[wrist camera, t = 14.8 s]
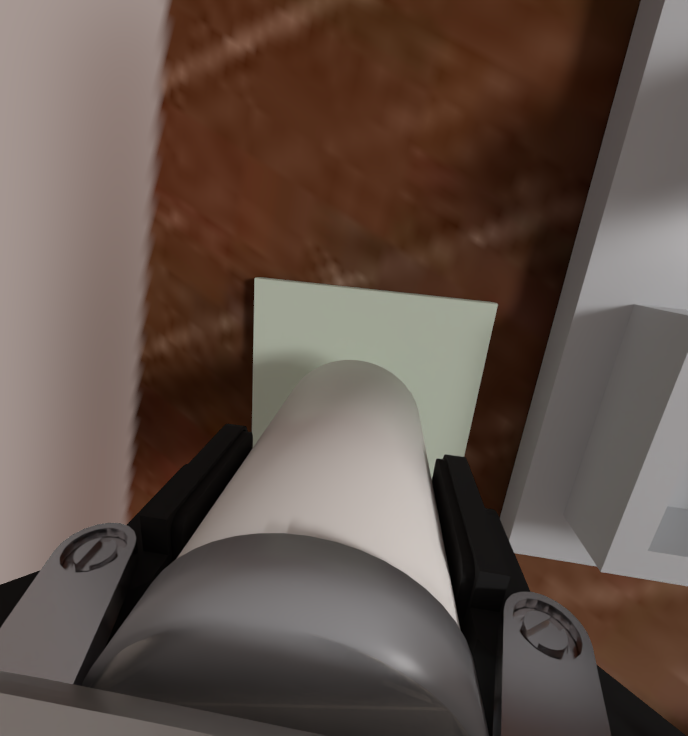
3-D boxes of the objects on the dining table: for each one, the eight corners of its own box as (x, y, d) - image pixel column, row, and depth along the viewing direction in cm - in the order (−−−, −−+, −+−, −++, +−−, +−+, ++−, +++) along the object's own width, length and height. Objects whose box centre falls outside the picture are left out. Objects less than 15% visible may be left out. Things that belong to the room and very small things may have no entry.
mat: (449, 503, 18) (451, 512, 18) (255, 473, 19) (251, 480, 19) (493, 302, 15) (497, 304, 15) (259, 277, 16) (254, 278, 15)
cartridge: (411, 494, 15) (452, 930, 5) (280, 474, 15) (100, 844, 6) (434, 366, 13) (554, 670, 4) (285, 348, 13) (44, 576, 4)
